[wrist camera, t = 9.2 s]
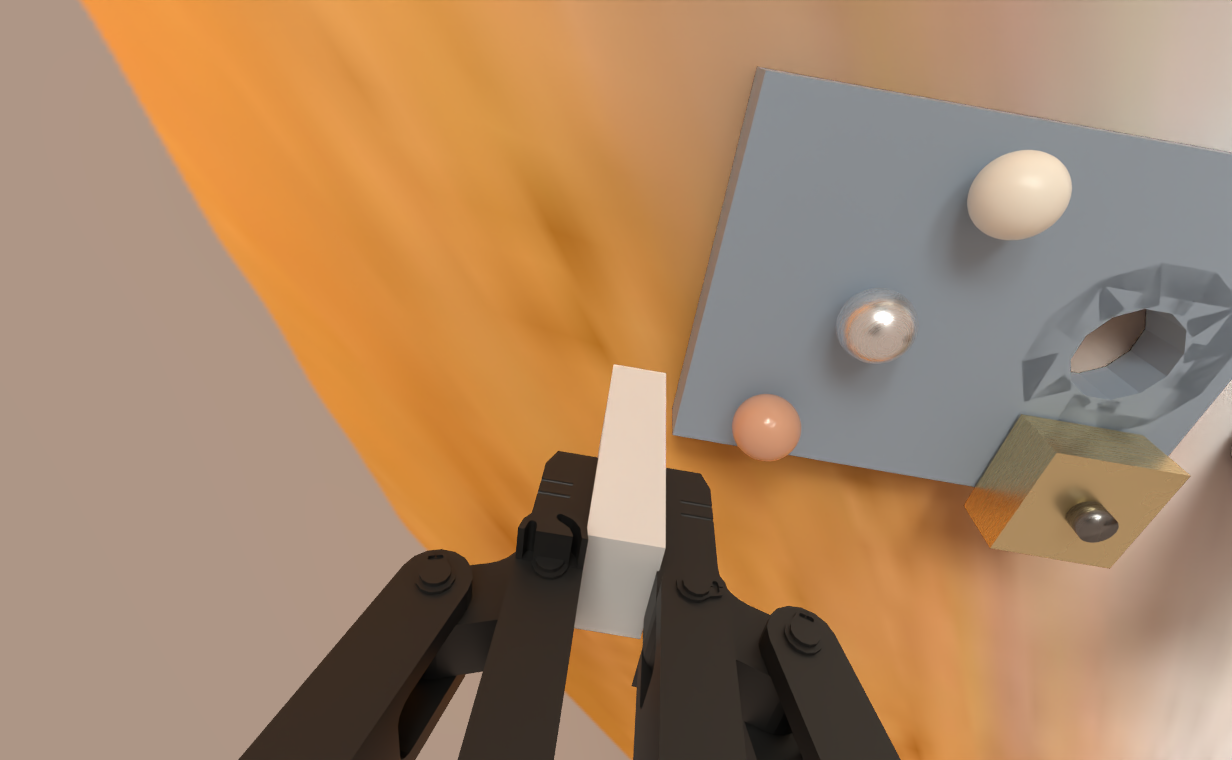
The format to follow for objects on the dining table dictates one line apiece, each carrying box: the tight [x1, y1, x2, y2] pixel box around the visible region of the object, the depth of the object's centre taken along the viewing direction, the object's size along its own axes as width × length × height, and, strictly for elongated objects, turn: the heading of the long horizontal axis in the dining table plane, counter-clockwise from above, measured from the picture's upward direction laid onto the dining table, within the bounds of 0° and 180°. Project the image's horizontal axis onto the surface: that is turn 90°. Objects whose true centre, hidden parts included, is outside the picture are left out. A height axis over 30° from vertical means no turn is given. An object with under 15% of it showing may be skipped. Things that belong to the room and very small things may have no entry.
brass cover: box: [964, 414, 1190, 569], centre depth 28 cm, size 6×6×4 cm
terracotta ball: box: [732, 394, 801, 461], centre depth 28 cm, size 3×3×3 cm
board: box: [672, 67, 1232, 487], centre depth 27 cm, size 17×24×2 cm
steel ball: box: [836, 288, 919, 364], centre depth 25 cm, size 3×3×3 cm
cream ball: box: [967, 150, 1072, 240], centre depth 22 cm, size 3×3×3 cm
